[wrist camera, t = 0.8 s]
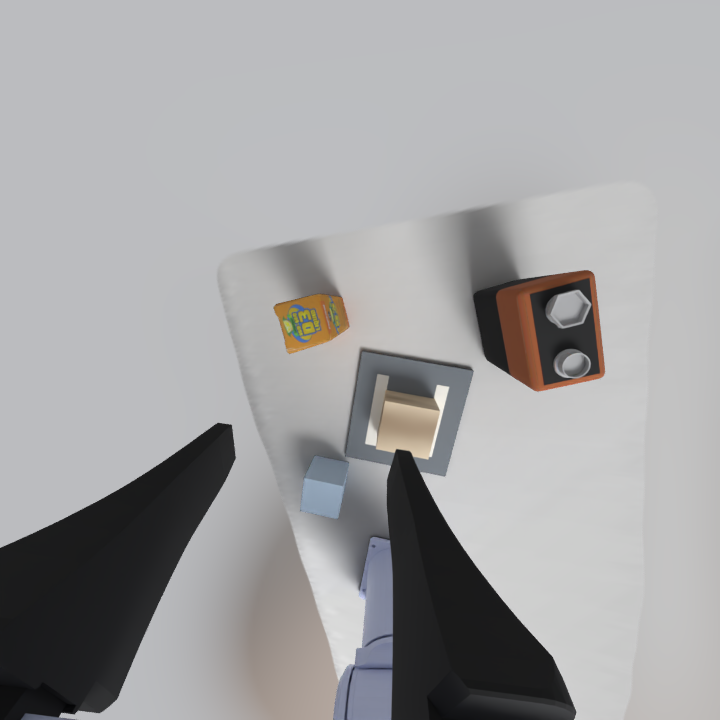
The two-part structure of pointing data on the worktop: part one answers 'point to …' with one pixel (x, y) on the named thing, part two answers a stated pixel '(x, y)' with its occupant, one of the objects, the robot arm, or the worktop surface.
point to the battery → (543, 329)
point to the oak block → (407, 423)
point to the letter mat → (415, 380)
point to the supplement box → (311, 320)
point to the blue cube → (324, 487)
